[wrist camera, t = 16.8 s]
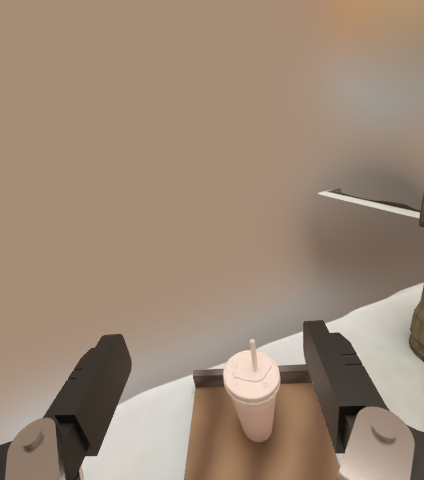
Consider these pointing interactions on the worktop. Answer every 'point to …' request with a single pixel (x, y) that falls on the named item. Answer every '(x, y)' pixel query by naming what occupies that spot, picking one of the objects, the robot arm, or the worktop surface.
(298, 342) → the worktop surface
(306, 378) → the shelf board
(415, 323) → the thermos
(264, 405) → the smoothie
